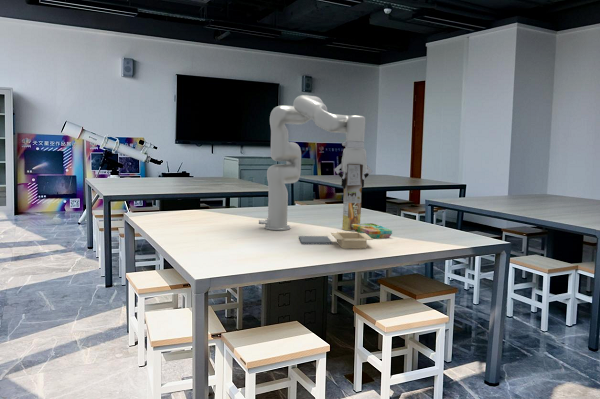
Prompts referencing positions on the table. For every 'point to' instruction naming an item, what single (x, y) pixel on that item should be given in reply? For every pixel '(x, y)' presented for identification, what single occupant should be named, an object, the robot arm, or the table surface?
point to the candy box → (351, 215)
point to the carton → (351, 239)
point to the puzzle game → (372, 230)
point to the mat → (315, 240)
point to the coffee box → (353, 183)
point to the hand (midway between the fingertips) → (352, 188)
